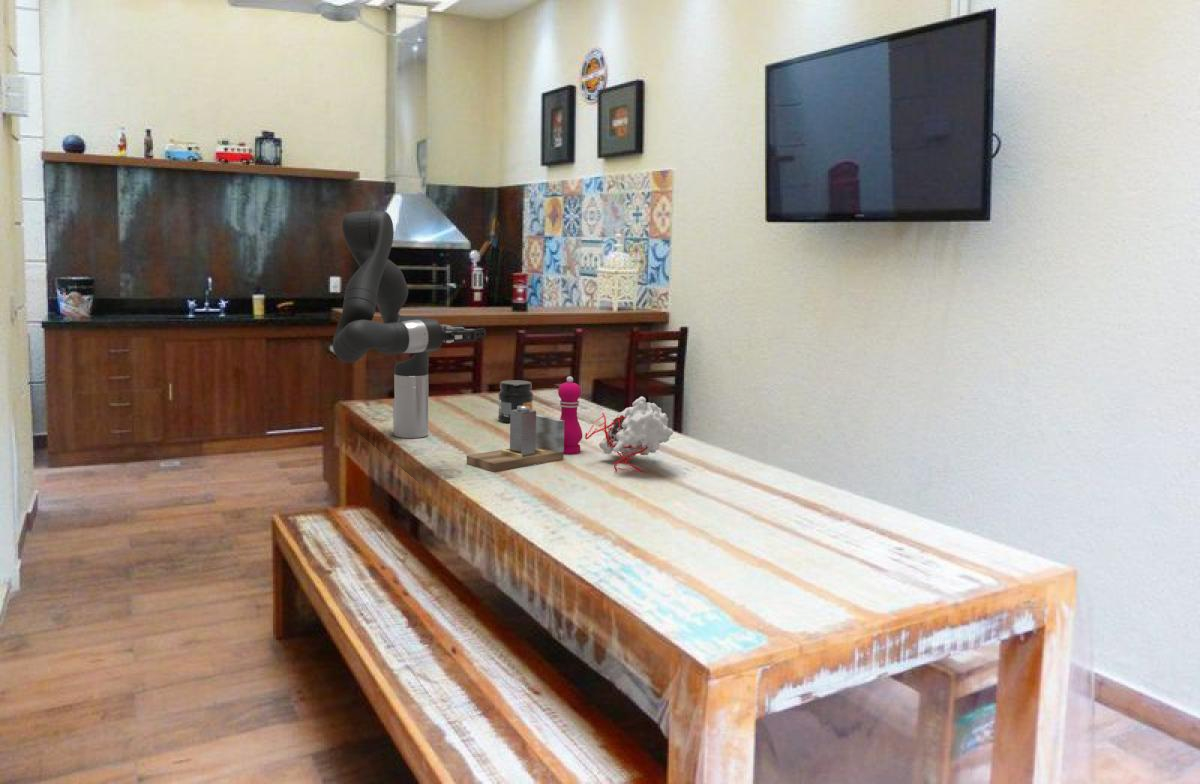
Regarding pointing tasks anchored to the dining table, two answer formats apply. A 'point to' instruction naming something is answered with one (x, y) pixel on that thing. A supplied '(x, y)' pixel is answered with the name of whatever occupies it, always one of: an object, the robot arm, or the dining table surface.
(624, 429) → the lumpy white molecule
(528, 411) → the metal square bar
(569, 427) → the pepper mill
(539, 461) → the wooden base metal fixture
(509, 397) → the supplement container
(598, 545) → the dining table surface
